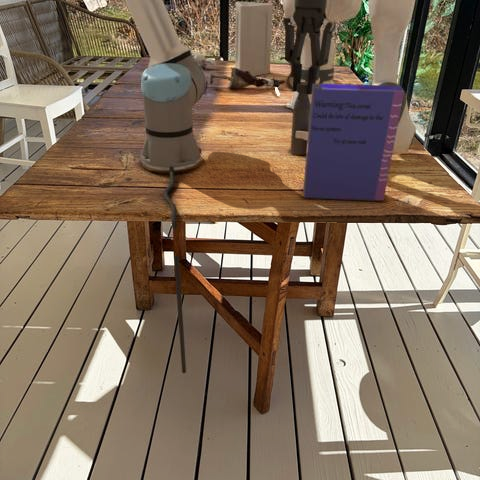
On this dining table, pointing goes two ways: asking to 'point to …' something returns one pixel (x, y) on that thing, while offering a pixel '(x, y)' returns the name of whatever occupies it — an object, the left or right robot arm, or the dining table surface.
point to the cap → (301, 87)
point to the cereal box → (351, 141)
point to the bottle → (300, 123)
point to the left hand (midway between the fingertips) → (303, 91)
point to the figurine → (246, 79)
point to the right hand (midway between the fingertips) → (297, 130)
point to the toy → (202, 59)
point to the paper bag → (253, 37)
